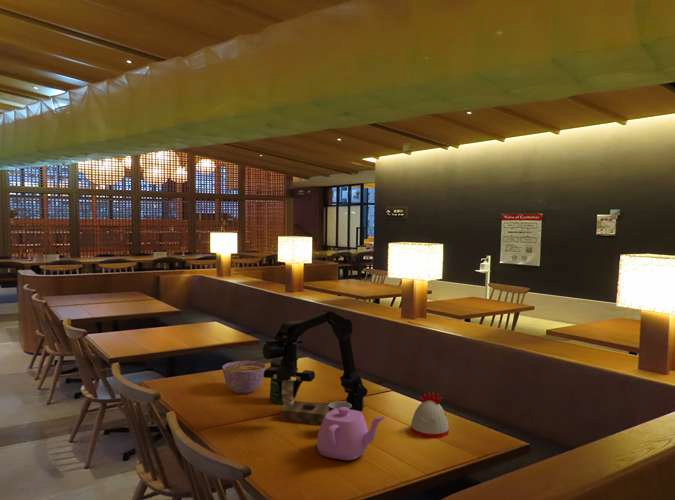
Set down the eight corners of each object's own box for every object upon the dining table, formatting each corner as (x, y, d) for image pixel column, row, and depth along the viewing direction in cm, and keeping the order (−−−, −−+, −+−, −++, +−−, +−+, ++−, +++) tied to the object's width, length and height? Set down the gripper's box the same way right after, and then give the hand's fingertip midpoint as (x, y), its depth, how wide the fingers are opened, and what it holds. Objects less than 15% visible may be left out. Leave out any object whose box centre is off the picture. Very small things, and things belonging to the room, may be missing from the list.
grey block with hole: (333, 414, 215) (333, 404, 215) (325, 425, 203) (325, 414, 203) (291, 410, 219) (291, 400, 219) (280, 420, 208) (281, 410, 208)
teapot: (304, 462, 170) (305, 416, 170) (329, 439, 190) (330, 397, 189) (372, 476, 162) (373, 427, 162) (391, 449, 182) (392, 406, 181)
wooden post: (295, 403, 203) (296, 380, 202) (292, 407, 199) (292, 383, 198) (285, 402, 204) (285, 379, 204) (281, 405, 200) (281, 382, 199)
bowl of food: (275, 389, 247) (275, 364, 247) (245, 400, 230) (245, 374, 230) (242, 382, 258) (243, 358, 257) (212, 392, 241) (212, 367, 240)
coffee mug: (334, 438, 191) (335, 410, 191) (323, 429, 199) (324, 403, 198) (362, 432, 196) (363, 406, 196) (351, 425, 204) (351, 399, 204)
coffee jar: (266, 400, 232) (267, 357, 231) (282, 397, 236) (283, 355, 236) (278, 406, 224) (278, 362, 223) (294, 403, 229) (294, 360, 228)
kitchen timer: (445, 440, 191) (446, 399, 190) (407, 434, 195) (408, 394, 195) (451, 427, 204) (452, 388, 203) (415, 422, 208) (416, 384, 208)
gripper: (258, 358, 195) (257, 400, 196) (306, 362, 190) (305, 405, 191) (269, 352, 206) (268, 392, 206) (315, 355, 201) (314, 396, 202)
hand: (288, 396), depth 201 cm, fingers closed on wooden post, 4 cm apart
